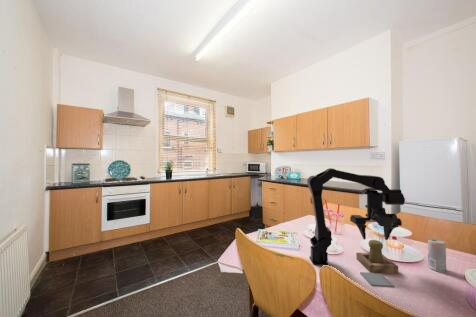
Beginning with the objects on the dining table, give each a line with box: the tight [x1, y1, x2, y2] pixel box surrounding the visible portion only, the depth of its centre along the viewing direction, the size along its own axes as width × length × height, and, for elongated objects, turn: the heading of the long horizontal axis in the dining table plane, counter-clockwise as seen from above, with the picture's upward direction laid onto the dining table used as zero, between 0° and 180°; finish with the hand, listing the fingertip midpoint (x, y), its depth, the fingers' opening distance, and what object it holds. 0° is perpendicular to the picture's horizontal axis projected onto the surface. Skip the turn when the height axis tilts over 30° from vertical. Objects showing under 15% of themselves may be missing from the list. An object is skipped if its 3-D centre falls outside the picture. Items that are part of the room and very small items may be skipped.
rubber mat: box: [359, 271, 395, 288], centre depth 75 cm, size 8×8×1 cm
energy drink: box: [427, 238, 447, 274], centre depth 82 cm, size 5×5×12 cm
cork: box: [368, 239, 384, 264], centre depth 85 cm, size 6×6×11 cm
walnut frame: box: [355, 252, 399, 274], centre depth 85 cm, size 11×11×3 cm
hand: (375, 239), depth 85 cm, fingers open, 9 cm apart
